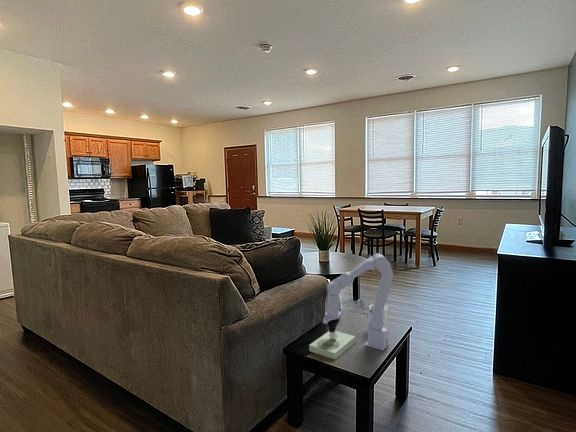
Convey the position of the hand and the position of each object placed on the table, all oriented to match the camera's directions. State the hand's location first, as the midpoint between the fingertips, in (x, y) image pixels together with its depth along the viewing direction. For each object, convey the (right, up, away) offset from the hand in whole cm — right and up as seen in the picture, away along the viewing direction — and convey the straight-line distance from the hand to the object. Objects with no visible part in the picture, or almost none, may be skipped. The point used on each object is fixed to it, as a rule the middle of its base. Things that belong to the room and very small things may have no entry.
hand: (331, 333), depth 165 cm
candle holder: (+27, -3, +17) cm, 32 cm away
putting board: (0, -6, -1) cm, 6 cm away
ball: (+1, -1, 0) cm, 1 cm away
